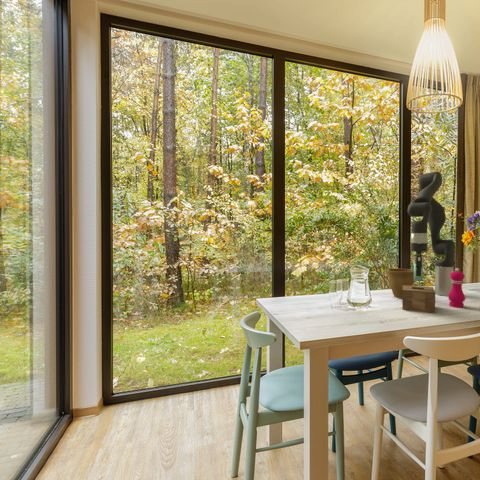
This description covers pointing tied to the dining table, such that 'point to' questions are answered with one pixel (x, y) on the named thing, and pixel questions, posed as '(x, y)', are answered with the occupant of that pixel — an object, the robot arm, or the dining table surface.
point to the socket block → (418, 298)
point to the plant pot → (400, 280)
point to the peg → (418, 278)
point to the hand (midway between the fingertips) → (418, 275)
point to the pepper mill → (456, 289)
